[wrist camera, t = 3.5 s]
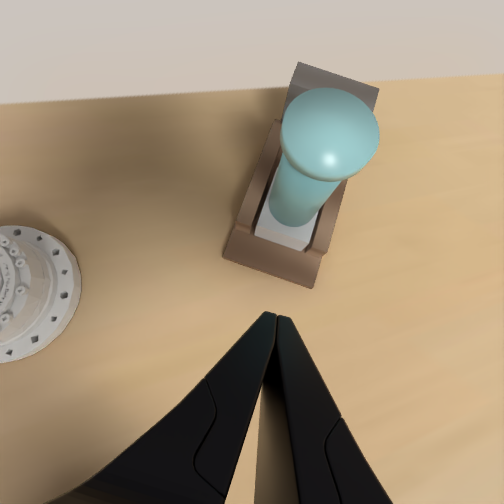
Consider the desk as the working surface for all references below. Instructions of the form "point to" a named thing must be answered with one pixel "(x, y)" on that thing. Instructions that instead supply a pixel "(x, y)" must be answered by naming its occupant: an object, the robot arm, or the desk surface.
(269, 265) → the mount
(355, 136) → the knob
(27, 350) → the mechanical component
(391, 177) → the desk surface
